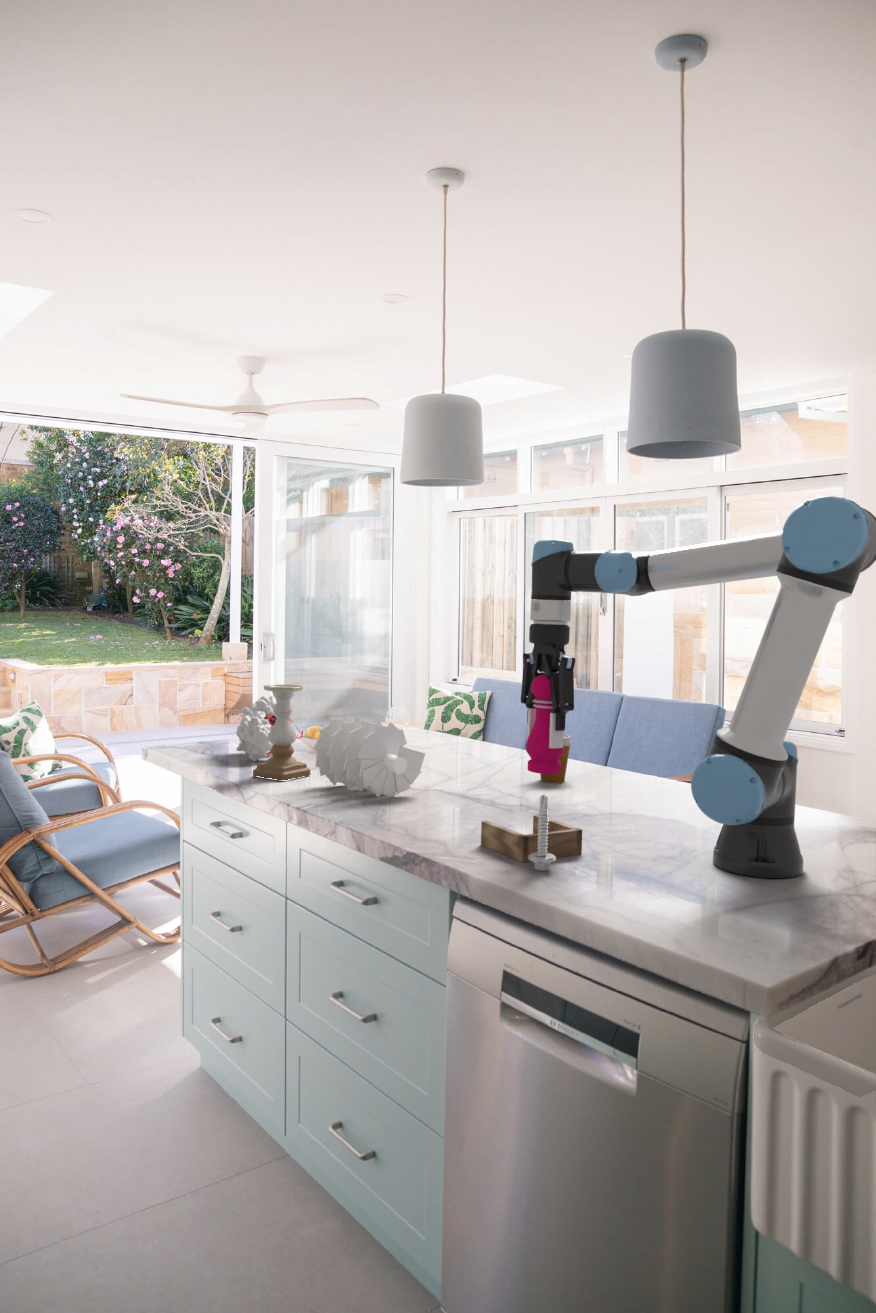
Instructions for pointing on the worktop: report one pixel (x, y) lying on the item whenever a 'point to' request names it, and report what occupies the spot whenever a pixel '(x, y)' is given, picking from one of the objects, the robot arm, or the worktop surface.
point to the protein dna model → (257, 728)
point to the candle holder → (282, 739)
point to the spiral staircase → (367, 756)
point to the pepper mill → (542, 731)
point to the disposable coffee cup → (563, 760)
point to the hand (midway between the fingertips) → (544, 744)
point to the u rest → (532, 840)
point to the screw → (542, 839)
